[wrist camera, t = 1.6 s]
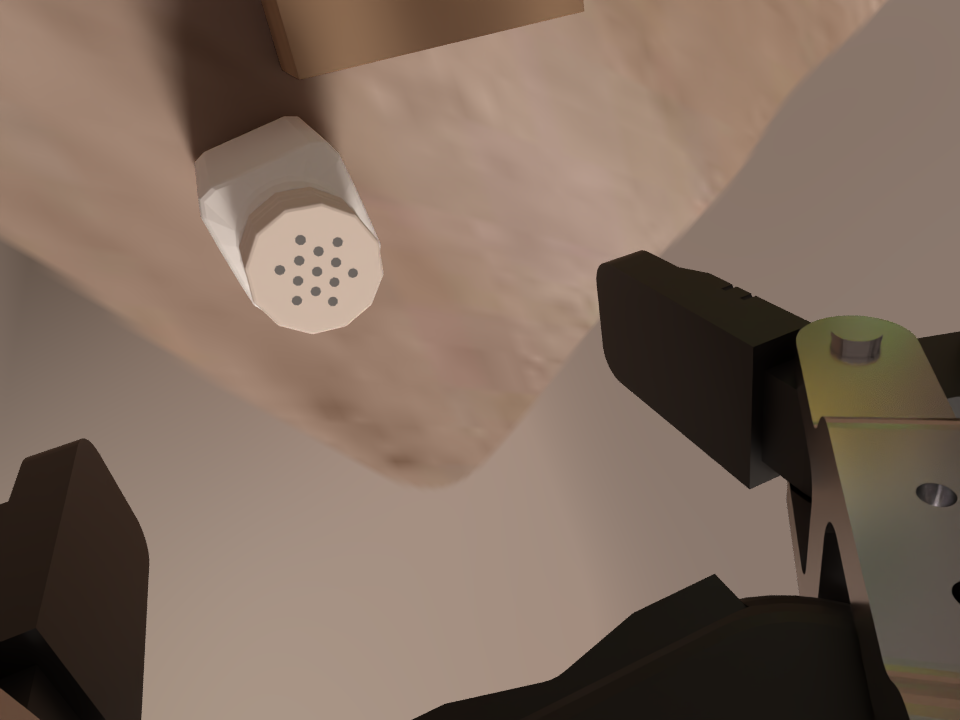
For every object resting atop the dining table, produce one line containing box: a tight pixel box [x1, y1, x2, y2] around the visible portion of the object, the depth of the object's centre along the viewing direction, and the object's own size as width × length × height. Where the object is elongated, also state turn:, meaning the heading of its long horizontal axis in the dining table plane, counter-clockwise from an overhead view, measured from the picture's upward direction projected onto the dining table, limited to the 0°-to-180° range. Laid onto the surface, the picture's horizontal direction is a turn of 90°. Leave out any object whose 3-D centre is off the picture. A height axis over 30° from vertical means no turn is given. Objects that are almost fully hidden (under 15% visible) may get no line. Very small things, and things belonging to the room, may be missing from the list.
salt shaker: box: [195, 116, 384, 334], centre depth 20 cm, size 4×4×10 cm
